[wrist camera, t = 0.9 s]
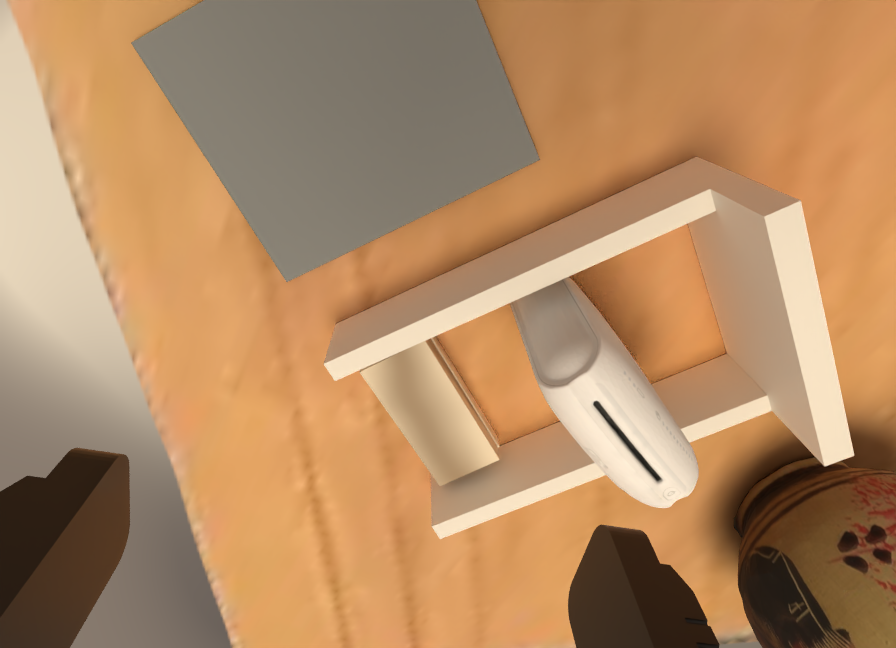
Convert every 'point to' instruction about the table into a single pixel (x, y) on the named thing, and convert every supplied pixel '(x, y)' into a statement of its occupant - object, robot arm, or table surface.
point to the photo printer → (604, 395)
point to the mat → (339, 113)
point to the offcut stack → (434, 410)
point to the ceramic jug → (820, 557)
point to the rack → (684, 394)
